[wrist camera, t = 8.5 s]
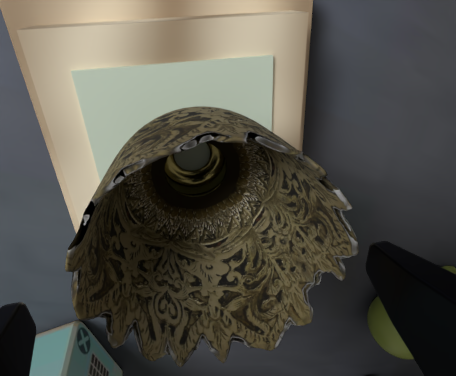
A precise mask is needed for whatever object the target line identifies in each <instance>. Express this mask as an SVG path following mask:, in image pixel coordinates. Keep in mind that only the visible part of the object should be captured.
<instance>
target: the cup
mask: <svg viewBox="0 0 456 376" xmlns="http://www.w3.org/2000/svg"><path fill="white" fill-rule="evenodd" d="M203 142H205V143H206V144H207V145H208V147H209V149H210V158H209V160H208V162H207V163H206V165H205V166H203V167H202V168H200V169H198V170H185V169H183V168H181V167H180V166H179V165H178V164H177V163H176V161H175V158H174V154H176V153H179V152H182V151H186V150H188V149H191V148H194V147H196V146H197V145H198V144H200V143H203ZM326 176H327V173H326V171H325V170H324V169H323V168H322V167H321V166H320V165H318V164H317V163H316V162H314V161H313V160H312V159H311V158H310V157H308V156H307V155H306V154H303V152H301V151H299V150H297V149H296V148H294V147H293V146H291V145H290V144H289V143H287V142H286V141H284V140H283V139H282V138H280V137H279V136H277V135H276V134H274V133H273V132H271V131H270V130H268V129H267V128H265V127H264V126H262V125H261V124H259V123H257V122H256V121H254V120H252V119H250V118H248V117H246V116H244V115H241V114H239V113H236V112H233V111H230V110H226V109H222V108H216V107H206V106H198V107H187V108H182V109H178V110H174V111H171V112H168V113H165V114H163V115H161V116H159V117H157V118H155V119H154V120H152V121H150V122H149V123H147V124H146V125H144V126H143V127H142V128H141V129H139V130H138V131H137V132H136V133H135V134H134V135H133V136H132V137H131V138H130V139H129V140H128V141H127V142H126V143H125V145H124V146H123V147H122V149H121V150H120V151H119V153H118V154H117V155H116V157H115V158H114V160H113V162H112V163H111V165H110V167H109V169H108V170H107V172H106V174H105V176H104V177H103V179H102V181H101V183H100V184H99V186H98V188H97V190H96V192H95V193H94V195H93V197H92V199H91V201H90V203H89V204H88V206H87V208H86V209H85V211H84V213H83V218H82V220H81V223H80V227H79V230H78V232H77V234H76V236H75V238H74V240H73V242H72V243H71V245H70V246H69V248H68V252H67V257H66V265H65V270H66V272H73V278H72V285H71V295H72V301H73V306H74V310H75V312H76V316H77V318H78V319H79V320H82V321H83V320H89V319H94V318H95V317H101V318H106V322H107V326H106V334H107V339H108V341H109V343H110V345H111V347H112V348H117V347H119V346H121V345H123V344H124V342H125V341H126V340H127V339H128V335H129V334H130V333H131V332H132V330H134V335H135V339H136V342H137V345H138V349H139V351H140V353H141V354H142V355H143V356H144V357H145V358H146V359H148V360H149V361H156V359H158V358H161V357H163V356H164V355H166V354H168V355H171V356H172V358H173V360H174V361H175V363H176V364H177V365H178V366H179V367H181V366H183V365H184V364H185V362H186V361H187V360H188V359H189V358H190V356H191V355H192V353H193V352H194V350H197V349H198V347H199V344H200V340H201V339H204V341H205V343H206V344H207V345H208V347H209V350H210V351H211V352H212V353H213V354H214V355H215V356H216V357H217V358H218V359H219V360H220V361H221V362H222V363H224V362H225V361H226V359H227V356H228V353H229V350H230V345H231V343H232V342H233V341H234V342H240V343H243V344H245V345H247V346H248V347H249V348H261V349H265V350H269V351H271V350H273V349H275V348H276V347H277V346H278V345H279V343H280V341H281V339H282V337H283V335H284V333H285V331H286V330H288V328H289V326H290V325H291V324H292V325H294V326H295V325H299V326H303V325H306V324H308V323H311V321H312V318H313V308H312V306H311V305H310V303H309V299H308V294H307V292H308V291H309V289H310V288H312V286H315V285H318V284H320V281H321V275H322V272H324V273H325V272H332V273H333V274H334V275H335V276H336V277H337V278H338V279H339V280H341V281H342V280H343V279H344V278H345V267H344V264H343V262H342V260H341V258H342V259H343V258H349V257H351V256H355V255H357V254H358V253H359V252H358V241H357V238H356V236H355V234H354V232H353V229H352V227H351V226H350V224H349V223H348V221H347V220H346V218H345V216H344V214H343V212H342V210H344V211H347V210H350V209H352V206H351V204H350V203H349V201H348V200H347V198H346V197H345V196H344V194H343V193H342V192H341V190H340V189H339V188H338V187H336V186H334V185H333V184H332V183H331V182H330V181H329V180H328V179H326V178H325V177H326ZM340 257H341V258H340ZM320 274H321V275H320ZM311 285H312V286H311ZM307 290H308V291H307ZM132 325H133V327H131V326H132ZM130 327H131V328H130Z"/></svg>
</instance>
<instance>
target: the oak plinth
mask: <svg viewBox="0 0 456 376" xmlns="http://www.w3.org/2000/svg"><path fill="white" fill-rule="evenodd" d="M312 7H313V0H0V8H1V11H2V14H3V17H4V20H5V23H6V26H7V29H8V32H9V35H10V38H11V41H12V44H13V47H14V50H15V53H16V56H17V59H18V62H19V65H20V68H21V71H22V73H23V76H24V79H25V82H26V85H27V88H28V91H29V94H30V97H31V100H32V103H33V106H34V109H35V112H36V115H37V118H38V121H39V124H40V127H41V130H42V133H43V136H44V139H45V142H46V145H47V148H48V151H49V154H50V157H51V160H52V163H53V166H54V169H55V172H56V175H57V178H58V181H59V184H60V187H61V190H62V193H63V196H64V199H65V202H66V204H67V207H68V210H69V213H70V216H71V219H72V222H73V225H74V228H75V231H76V234H77V232H78V230H79V227H80V223H81V220H82V218H83V213H84V211H85V209H86V208H87V206H88V204H89V203H90V201H91V199H92V197H93V195H94V193H95V192H96V190H97V188H98V186H99V184H100V183H101V181H102V179H103V177H104V176H105V174H106V172H107V170H108V169H109V167H110V165H111V163H112V162H113V160H114V158H115V157H116V155H117V154H118V153H119V151H120V150H121V149H122V147H123V146H124V145H125V143H126V142H127V141H128V140H129V139H130V138H131V137H132V136H133V135H134V134H135V133H136V132H137V131H138V130H139V129H141V128H142V127H143V126H144V125H146V124H147V123H149V122H150V121H152V120H154V119H155V118H157V117H159V116H161V115H163V114H165V113H168V112H171V111H174V110H178V109H182V108H187V107H198V106H206V107H216V108H222V109H226V110H230V111H233V112H236V113H239V114H241V115H244V116H246V117H248V118H250V119H252V120H254V121H256V122H257V123H259V124H261V125H262V126H264V127H265V128H267V129H268V130H270V131H271V132H273V133H274V134H276V135H277V136H279V137H280V138H282V139H283V140H284V141H286V142H287V143H289V144H290V145H291V146H293V147H294V148H296V149H297V150H299V151H301V152H302V144H303V131H304V117H305V103H306V89H307V76H308V62H309V48H310V35H311V21H312ZM174 158H175V161H176V163H177V164H178V165H179V166H180V167H181V168H183V169H185V170H198V169H200V168H202V167H203V166H205V165H206V163H207V162H208V160H209V158H210V149H209V147H208V145H207V144H206V143H205V142H203V143H200V144H198V145H197V146H196V147H194V148H191V149H188V150H186V151H182V152H179V153H176V154H174Z"/></svg>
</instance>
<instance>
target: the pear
mask: <svg viewBox="0 0 456 376" xmlns="http://www.w3.org/2000/svg"><path fill="white" fill-rule="evenodd" d="M442 268H444V269H446V270H448V271H450V272H453V273H455V274H456V268H455V267H454V266H443V267H442ZM367 321H368V326H369V329H370V332H371V334H372V336H373V337H374V339H375V340H376V342H377V343H378V344H379V345H380V346H381V347H382V348H383V349H384V350H385V351H387V352H388V353H390V354H391V355H393V356H396V357H398V358H402V359H414V358H413V356H412V355H411V353H410V351H409V350H408V348H407V347H406V345H405V343H404V342H403V340H402V339H401V337H400V335H399V334H398V332H397V331H396V329H395V327H394V326H393V324H392V322H391V320H390V318H389V317H388V315H387V313H386V311H385V309H384V307H383V305H382V303H381V301H380V299H379V297H378V296H377V297H376V298H375V299H374V300H373V302H372V303H371V305H370V307H369V310H368V314H367Z"/></svg>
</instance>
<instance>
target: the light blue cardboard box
mask: <svg viewBox="0 0 456 376" xmlns="http://www.w3.org/2000/svg"><path fill="white" fill-rule="evenodd" d="M122 375H123V371H122V370H121V369H120V367H119V366H118V365H117V364H116V362H115V361H114V360H113V359H112V358H111V356H110V355H109V354H108V353H107V351H106V350H105V349H104V348H103V346H102V345H101V344H100V343H99V342H98V340H97V339H96V338H95V337H94V335H93V334H92V333H91V332H90V330H89V329H88V328H87V327H86V326H85V324H84V323H82V322H81V321H79V320H77V321H74V322H71V323H68V324H65V325H62V326H60V327H57V328H54V329H51V330H48V331H45V332H42V333H40V334H37V335H36V338H35V344H34V350H33V356H32V362H31V369H30V375H29V376H122Z"/></svg>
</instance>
